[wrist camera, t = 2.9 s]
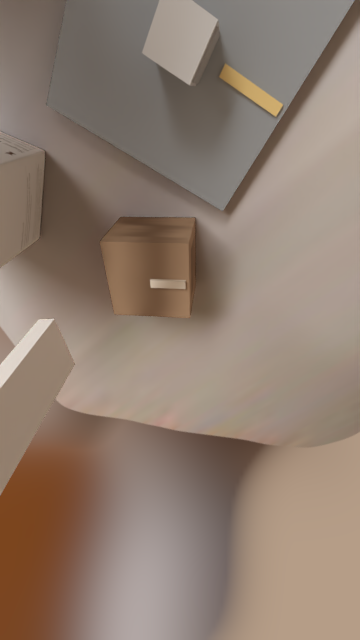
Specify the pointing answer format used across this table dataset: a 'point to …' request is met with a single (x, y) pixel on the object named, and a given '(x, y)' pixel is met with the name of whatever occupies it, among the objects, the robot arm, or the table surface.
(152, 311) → the brown cardboard crate
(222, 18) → the plate
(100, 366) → the table surface
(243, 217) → the table surface
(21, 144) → the supplement box
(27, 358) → the robot arm
